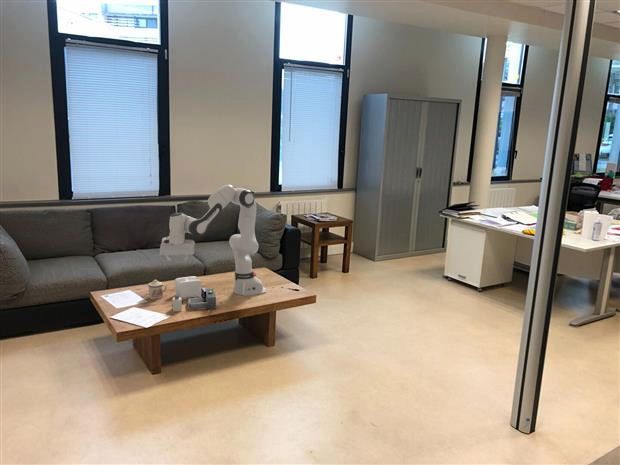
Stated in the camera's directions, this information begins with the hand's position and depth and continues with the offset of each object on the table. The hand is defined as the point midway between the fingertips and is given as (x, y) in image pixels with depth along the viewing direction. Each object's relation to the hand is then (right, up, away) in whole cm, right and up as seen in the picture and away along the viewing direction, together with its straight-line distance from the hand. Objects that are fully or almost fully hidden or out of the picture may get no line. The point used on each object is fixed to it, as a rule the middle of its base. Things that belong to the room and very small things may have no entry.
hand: (177, 261), depth 294 cm
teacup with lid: (-19, -24, +25) cm, 40 cm away
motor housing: (+12, -28, +12) cm, 33 cm away
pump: (-1, -30, +5) cm, 30 cm away
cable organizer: (-1, -24, +29) cm, 37 cm away
